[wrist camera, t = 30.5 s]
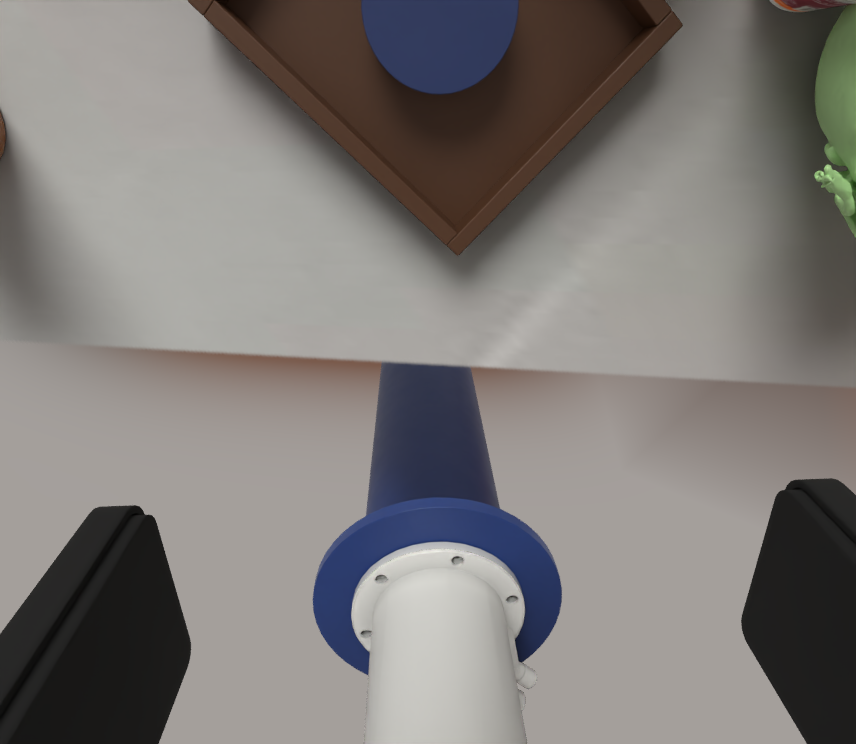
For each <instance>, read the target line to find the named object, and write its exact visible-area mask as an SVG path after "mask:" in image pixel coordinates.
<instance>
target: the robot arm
mask: <svg viewBox="0 0 856 744" xmlns="http://www.w3.org/2000/svg"><path fill="white" fill-rule="evenodd" d="M524 615H525V606H524V598H523V594H522V590H521V586H520V584H519V582H518V580H517V578H516V576H515V575H514V573H513V572H512V571H511V570H510V569H509V568H508V566H507V565H506V564H505V563H503V562H502V561H501V560H499V559H498V558H497V557H495V556H494V555H492V554H490V553H488V552H486V551H484V550H482V549H480V548H476V547H473V546H469V545H466V544H461V543H453V542H427V543H421V544H416V545H411V546H408V547H405V548H402V549H399V550H396V551H394V552H392V553H391V554H389V555H387V556H385V557H383V558H382V559H380V560H379V561H378V562H376V563H375V564H374V565H373V566H371V567H370V568H369V569H368V571H367V572H366V573H365V574H364V575H363V576H362V578H361V579H360V581H359V583H358V585H357V587H356V589H355V593H354V597H353V601H352V613H351V617H352V624H353V628H354V631H355V634H356V636H357V638H358V639H359V641H360V642H361V643H362V645H363V646H364V647H365V649H366V650H368V651H369V652H370V661H369V675H368V690H367V704H366V718H365V733H364V744H527V739H526V734H525V728H524V722H523V717H522V710H523V709H524V706H525V702H526V701H525V700H526V699H525V698H526V697H525V695H524V692H522V691H521V690H519V689H518V688H517V683H519V684H520V685H522V686H523V687H525V688H527V689H530V688H532V687H533V686H534V685H535V683H536V681H537V674H536V672H535V671H534V670H533V669H531V668H530V667H528V666H527V665H525V664H524V663H521V662H519V661H518V656H517V651H516V645H515V638H516V637H517V636H518V634H519V632H520V629H521V627H522V625H523V621H524ZM741 623H742V631H743V634H744V637H745V640H746V642H747V644H748V646H749V647H750V649H751V650H752V652H753V654H754V655H755V657H756V659H757V661H758V662H759V664H760V665H761V667H762V669H763V671H764V672H765V674H766V676H767V677H768V679H769V681H770V682H771V684H772V686H773V687H774V689H775V691H776V693H777V694H778V696H779V697H780V699H781V701H782V703H783V704H784V706H785V708H786V709H787V711H788V713H789V714H790V716H791V718H792V719H793V721H794V723H795V724H796V726H797V728H798V729H799V731H800V733H801V734H802V736H803V738H804V739H805V741H806V743H807V744H856V495H855V494H854V493H853V492H852V491H851V490H849V489H848V488H847V487H846V486H845V485H844V484H843V483H841V482H840V481H838V480H836V479H806V480H794V481H791V482H790V483H789V484H788V485H787V487H786V489H785V490H782V491H780V492H779V493H778V494H777V496H776V498H775V501H774V504H773V508H772V511H771V515H770V519H769V522H768V526H767V529H766V533H765V536H764V540H763V544H762V547H761V551H760V554H759V558H758V561H757V565H756V568H755V572H754V575H753V579H752V583H751V586H750V590H749V593H748V596H747V600H746V603H745V607H744V611H743V614H742V620H741ZM190 654H191V642H190V637H189V634H188V630H187V627H186V623H185V620H184V616H183V613H182V610H181V606H180V603H179V599H178V596H177V592H176V589H175V586H174V582H173V578H172V575H171V571H170V568H169V565H168V561H167V558H166V554H165V551H164V547H163V544H162V541H161V537H160V533H159V530H158V526H157V523H156V521H155V518H154V517H153V516H152V515H145V514H144V512H143V510H142V509H141V508H140V507H139V506H135V505H134V506H111V507H110V506H109V507H98V508H95V509H94V510H93V511H92V512H91V513H90V514H89V515H88V516H87V518H86V519H85V520H84V522H83V523H82V524H81V526H80V527H79V528H78V530H77V531H76V533H75V534H74V535H73V537H72V538H71V539H70V541H69V542H68V543H67V545H66V546H65V547H64V549H63V550H62V551H61V553H60V554H59V555H58V557H57V558H56V560H55V561H54V562H53V564H52V565H51V566H50V568H49V569H48V571H47V572H46V573H45V574H44V576H43V577H42V578H41V580H40V581H39V583H38V584H37V585H36V587H35V588H34V589H33V591H32V592H31V593H30V595H29V596H28V597H27V599H26V600H25V602H24V603H23V604H22V605H21V607H20V608H19V610H18V611H17V612H16V614H15V615H14V617H13V618H12V619H11V620H10V622H9V623H8V624H7V626H6V627H5V628H4V630H3V631H2V633H1V634H0V744H158V743H159V741H160V738H161V736H162V733H163V731H164V728H165V725H166V723H167V720H168V717H169V715H170V712H171V709H172V707H173V704H174V701H175V699H176V696H177V694H178V691H179V688H180V686H181V683H182V680H183V678H184V675H185V673H186V670H187V667H188V664H189V660H190Z"/></svg>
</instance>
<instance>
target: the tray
mask: <svg viewBox="0 0 856 744" xmlns="http://www.w3.org/2000/svg"><path fill="white" fill-rule="evenodd" d="M188 2H189V3H190V4H191V5H192V6H193V7H194V8H195V9H196V10H197V11H199V12H200V13H201V14H202V15H204V17H205V18H206V19H207V20H208V21H209V22H210V23H211V24H212V25H213V26H214V27H215V28H216V29H217V30H219V31H220V32H221V33H222V34H223V35H224V36H225V37H226V38H227V39H228V40H229V41H230V42H231V43H232V44H233V45H234V46H235V47H237V48H238V49H239V50H240V51H241V52H242V53H243V54H244V55H245V56H246V57H247V58H248V59H249V60H250V61H251V62H252V63H254V64H255V65H256V66H257V67H258V68H259V69H260V70H261V71H262V72H263V73H264V74H265V75H266V76H267V77H268V78H269V79H270V80H272V81H273V82H274V83H275V84H276V85H277V86H278V87H279V88H280V89H281V90H282V91H283V92H284V93H285V94H286V95H287V96H288V97H290V98H291V99H292V100H293V101H294V102H295V103H296V104H297V105H298V106H299V107H300V108H301V109H302V110H303V111H304V112H305V113H306V114H308V115H309V116H310V117H311V118H312V119H313V120H314V121H315V122H316V123H317V124H318V125H319V126H320V127H321V128H322V129H323V130H324V131H326V132H327V133H328V134H329V135H330V136H331V137H332V138H333V139H334V140H335V141H336V142H337V143H338V144H339V145H340V146H341V147H342V148H344V149H345V150H346V151H347V152H348V153H349V154H350V155H351V156H352V157H353V158H354V159H355V160H356V161H357V162H358V163H359V164H361V165H362V166H363V167H364V168H365V169H366V170H367V171H368V172H369V173H370V174H371V175H372V176H373V177H374V178H375V179H376V180H377V181H379V182H380V183H381V184H382V185H383V186H384V187H385V188H386V189H387V190H388V191H389V192H390V193H391V194H392V195H393V196H394V197H395V198H397V199H398V200H399V201H400V202H401V203H402V204H403V205H404V206H405V207H406V208H407V209H408V210H409V211H410V212H411V213H412V214H413V215H415V216H416V217H417V218H418V219H419V220H420V221H421V222H422V223H423V224H424V225H425V226H426V227H427V228H428V229H429V230H430V231H431V232H433V233H434V234H435V235H436V236H437V237H438V238H439V239H440V240H441V241H442V242H443V243H444V244H445V245H447V247H449V248H450V249H451V250H452V251H453V252H454V253H455V254H456V255H460V254H461V253H462V252H463V251H464V250H465V248H466V247H467V246H468V245H469V244H470V243H471V242H472V241H473V240H474V239H475V238H476V237H477V236H478V235H479V234H480V233H481V232H482V231H483V230H484V229H485V228H486V227H487V226H488V225H489V224H490V223H491V222H492V221H493V220H494V219H495V218H496V217H497V216H498V215H499V214H500V213H501V212H502V211H503V210H504V209H505V208H506V206H507V205H508V204H509V203H510V202H511V201H512V200H513V199H514V198H515V197H516V196H517V195H518V194H519V193H520V192H521V191H522V190H523V189H524V188H525V187H526V186H527V185H528V184H529V183H530V182H531V181H532V180H533V179H534V178H535V177H536V176H537V175H538V174H539V173H540V172H541V171H542V170H543V169H544V168H545V167H546V166H547V164H548V163H549V162H550V161H551V160H552V159H553V158H554V157H555V156H556V155H557V154H558V153H559V152H560V151H561V150H562V149H563V148H564V147H565V146H566V145H567V144H568V143H569V142H570V141H571V140H572V139H573V138H574V137H575V136H576V135H577V134H578V133H579V132H580V131H581V130H582V129H583V128H584V127H585V126H586V125H587V124H588V122H589V121H590V120H591V119H592V118H593V117H594V116H595V115H596V114H597V113H598V112H599V111H600V110H601V109H602V108H603V107H604V106H605V105H606V104H607V103H608V102H609V101H610V100H611V99H612V98H613V97H614V96H615V95H616V94H617V93H618V92H619V91H620V90H621V89H622V88H623V87H624V86H625V85H626V84H627V83H628V82H629V80H630V79H631V78H632V77H633V76H634V75H635V74H636V73H637V72H638V71H639V70H640V69H641V68H642V67H643V66H644V65H645V64H646V63H647V62H648V61H649V60H650V59H651V58H652V57H653V56H654V55H655V54H656V53H657V52H658V51H659V50H660V49H661V48H662V47H663V46H664V45H665V44H666V43H667V42H668V41H669V40H670V38H671V37H672V36H673V35H674V34H675V33H676V32H677V31H678V30H679V29H680V28H681V27H682V26H683V25H682V23H681V22H680V20H679V19H678V18H677V16H676V15H675V14H674V12H673V11H671V8H670V7H669V5H668V4H667V3H666V1H665V0H519V9H518V19H517V24H516V28H515V32H514V35H513V38H512V41H511V43H510V45H509V47H508V49H507V51H506V53H505V55H504V56H503V58H502V60H501V61H500V62H499V64H498V65H497V66H496V67H495V69H494V70H493V71H492V72H491V73H490V74H489V75H488V76H487V77H485V78H484V79H483V80H481V81H480V82H479V83H477V84H475V85H473V86H472V87H470V88H468V89H465V90H462V91H460V92H456V93H451V94H442V95H438V94H428V93H423V92H419V91H417V90H414V89H411V88H409V87H407V86H406V85H404V84H402V83H401V82H399V81H398V80H396V79H395V78H394V77H393V76H392V75H391V74H390V73H388V72H387V71H386V69H385V68H384V67H383V66H382V65H381V63H380V62H379V60H378V59H377V57H376V56H375V54H374V52H373V50H372V48H371V46H370V44H369V42H368V39H367V36H366V33H365V29H364V25H363V20H362V11H361V0H188Z"/></svg>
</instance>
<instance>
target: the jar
mask: <svg viewBox="0 0 856 744" xmlns="http://www.w3.org/2000/svg"><path fill="white" fill-rule="evenodd" d="M4 148H5V126H4V122H3V118H2V115H1V113H0V159H1V157H2V154H3V151H4Z"/></svg>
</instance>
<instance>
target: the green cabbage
mask: <svg viewBox="0 0 856 744" xmlns="http://www.w3.org/2000/svg"><path fill="white" fill-rule="evenodd" d="M815 107H816V115H817V118H818V121H819V125H820V127H821V129H822V131H823V132H824V134H825V135H826V137H827V139H828V143H827V144H826V145H825V147H824V151H825V154H826V156H827V158H828V159H829V160H830V161H831V162H832V163H833V164H835V165H837V166H847V168H848V170H846V171H842V172H837V171H836V170H832V168H831V166H830V165H826V166H825V167H824V172H822V171H817V172H816V173H815V175H814V177H815V179H816V180H817V181H818V182H821V183H822V186H821V188H824V187H825V188H826V189H827V191H828V192H830V193H835V196H834V201H835V203H836V205H837V207H838V208H839V210H840V212H841V214H842V215H843V217H844V219H845V220H846V222H847V224H848V226H849V228H850V230H851V231H852V233H853V235H854V237H855V238H856V4H850V5H847V6H846V7H845V8H844V10H843V12H842V13H841V15H840V17H839V18H838V20H837V22H836V23H835V25H834V27H833V28H832V30H831V32H830V34H829V36H828V38H827V41H826V43H825V46H824V49H823V52H822V55H821V58H820V62H819V66H818V71H817V77H816V84H815Z"/></svg>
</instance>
